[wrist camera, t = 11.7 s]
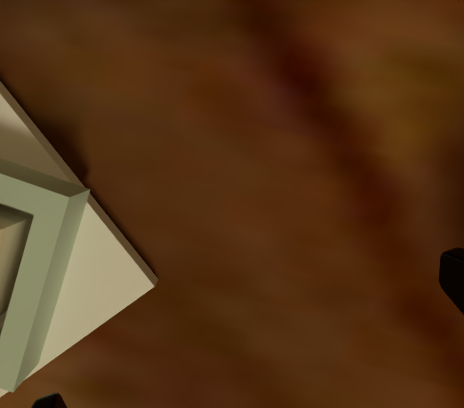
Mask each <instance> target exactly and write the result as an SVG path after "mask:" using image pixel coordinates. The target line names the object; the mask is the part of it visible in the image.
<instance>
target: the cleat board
mask: <svg viewBox="0 0 464 408" xmlns="http://www.w3.org/2000/svg"><path fill="white" fill-rule="evenodd" d="M0 204H1V205H4V206H7V207H10V208H13V209H15V210H18V211H21V212H24V213H27V214H30V215H33V216H34V217H33V221H32V224H31V228H30V231H29V235H28V239H27V242H26V246H25V249H24V253H23V257H22V260H21V264H20V267H19V271H18V275H17V278H16V282H15V285H14V289H13V293H12V296H11V300H10V303H9V307H8V310H7V311H6V312H5V313H3V314H2V315H1V316H0V397H1V396H3V395H4V394H5V393H7V392H8V391H10V392H14V391H15V390H16V388H17V387H18V386H19V385H20V384H21V383H22V382H23V381H24V380H25V379H26V378H28V377H29V376H31V375H32V374H33V373H35V372H36V371H37V370H39V369H40V368H42V367H43V366H44V365H46V364H47V363H49V362H50V361H51V360H53V359H54V358H56V357H57V356H58V355H60V354H61V353H63V352H64V351H65V350H67V349H68V348H69V347H71V346H72V345H74V344H75V343H76V342H78V341H79V340H81V339H82V338H83V337H85V336H86V335H88V334H89V333H90V332H92V331H93V330H95V329H96V328H97V327H99V326H100V325H101V324H103V323H104V322H106V321H107V320H108V319H110V318H111V317H113V316H114V315H115V314H117V313H118V312H120V311H121V310H122V309H124V308H125V307H127V306H128V305H129V304H131V303H132V302H133V301H135V300H136V299H138V298H139V297H140V296H142V295H143V294H145V293H146V292H147V291H149V290H150V289H152V288H153V287H154V286H155V285H156V283H157V281H158V278H157V277H156V276H155V275H154V273H153V272H152V271H151V269H150V268H149V267H148V266H147V264H146V263H145V262H144V261H143V259H142V258H141V257H140V256H139V254H138V253H137V252H136V251H135V249H134V248H133V247H132V246H131V244H130V243H129V242H128V241H127V239H126V238H125V237H124V236H123V234H122V233H121V232H120V231H119V229H118V228H117V227H116V226H115V224H114V223H113V222H112V221H111V219H110V218H109V217H108V216H107V214H106V213H105V212H104V211H103V209H102V208H101V207H100V206H99V204H98V203H97V202H96V201H95V199H94V198H93V197H92V195H91V194H90V189H88V188H85V187H84V185H83V184H82V183H81V182H80V180H79V179H78V178H77V177H76V175H75V174H74V173H73V172H72V170H71V169H70V168H69V167H68V165H67V164H66V163H65V162H64V160H63V159H62V158H61V157H60V155H59V154H58V153H57V152H56V150H55V149H54V148H53V147H52V145H51V144H50V143H49V142H48V140H47V139H46V138H45V137H44V135H43V134H42V133H41V132H40V130H39V129H38V128H37V127H36V125H35V124H34V123H33V122H32V120H31V119H30V118H29V116H28V115H27V114H26V113H25V111H24V110H23V109H22V108H21V106H20V105H19V104H18V103H17V101H16V100H15V99H14V98H13V96H12V95H11V94H10V93H9V91H8V90H7V89H6V88H5V86H4V85H3V84H2V83H1V81H0Z"/></svg>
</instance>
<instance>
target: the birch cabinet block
mask: <svg viewBox="0 0 464 408" xmlns="http://www.w3.org/2000/svg"><path fill="white" fill-rule="evenodd" d="M33 217H34V216H33V215H30V214H27V213H24V212H21V211H18V210H15V209H13V208H10V207H7V206H4V205H1V204H0V316H1V315H2V314H3V313H5V312H6V311H7V310H8V307H9V303H10V300H11V296H12V293H13V289H14V285H15V282H16V278H17V275H18V271H19V267H20V264H21V260H22V257H23V253H24V249H25V246H26V242H27V239H28V235H29V231H30V228H31V224H32V221H33Z"/></svg>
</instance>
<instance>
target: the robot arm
mask: <svg viewBox="0 0 464 408" xmlns="http://www.w3.org/2000/svg"><path fill="white" fill-rule="evenodd" d="M439 283H440V286H441V288H442V289H443V291H444V292H445V293H446V294H447V295H448V297H449V298H450V299H451V300H452V301H453V303H454V304H455V305H456V306H457V307H458V309H459V310H460V311H461V312H462V313H463V315H464V248H454V249H451V250H448V251H446V252H444V253H442V255H441V257H440V270H439ZM31 408H67V407H66V405H65V403H64V401H63V399H62V397H61V395H60V394H59V393H52V394H49V395H47V396H44V397H41V398H39V399H37V400H36V401H35V402H34V404H33V405H32V407H31Z"/></svg>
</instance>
